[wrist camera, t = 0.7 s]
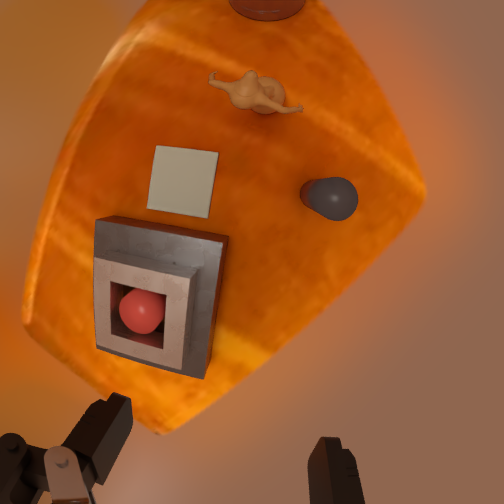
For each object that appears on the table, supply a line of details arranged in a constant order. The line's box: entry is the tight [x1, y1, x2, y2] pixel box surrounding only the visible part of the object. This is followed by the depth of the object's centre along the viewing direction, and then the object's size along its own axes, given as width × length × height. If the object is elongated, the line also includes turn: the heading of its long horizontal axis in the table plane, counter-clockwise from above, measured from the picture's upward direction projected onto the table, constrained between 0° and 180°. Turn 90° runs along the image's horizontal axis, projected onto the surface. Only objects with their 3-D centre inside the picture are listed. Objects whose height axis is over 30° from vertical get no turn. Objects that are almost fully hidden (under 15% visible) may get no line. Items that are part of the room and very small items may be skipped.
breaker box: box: [93, 215, 229, 379], centre depth 30 cm, size 16×14×7 cm
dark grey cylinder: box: [300, 177, 358, 221], centre depth 25 cm, size 3×3×11 cm
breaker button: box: [119, 288, 167, 334], centre depth 29 cm, size 4×4×4 cm
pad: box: [147, 146, 219, 218], centre depth 30 cm, size 7×7×1 cm
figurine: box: [208, 70, 304, 114], centre depth 23 cm, size 8×6×12 cm
